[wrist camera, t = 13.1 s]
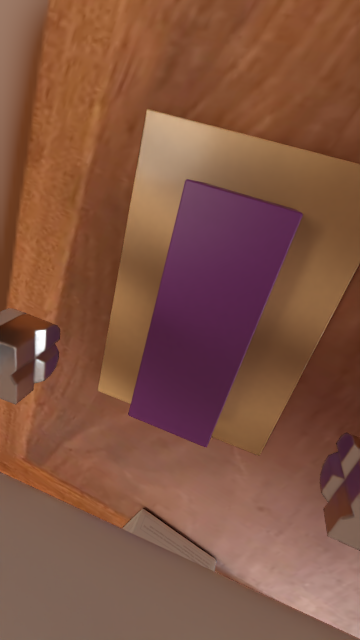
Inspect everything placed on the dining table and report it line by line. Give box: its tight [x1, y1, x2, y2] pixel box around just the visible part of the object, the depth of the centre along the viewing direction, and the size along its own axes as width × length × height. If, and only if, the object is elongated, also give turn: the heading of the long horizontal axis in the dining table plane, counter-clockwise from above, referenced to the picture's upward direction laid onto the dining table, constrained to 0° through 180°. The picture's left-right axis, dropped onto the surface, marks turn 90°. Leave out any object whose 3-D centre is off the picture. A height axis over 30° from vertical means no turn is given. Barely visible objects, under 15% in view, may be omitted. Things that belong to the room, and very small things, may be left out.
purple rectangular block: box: [128, 179, 303, 447], centre depth 15 cm, size 12×4×3 cm, turn 165°
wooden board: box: [98, 109, 360, 456], centre depth 16 cm, size 16×11×1 cm
